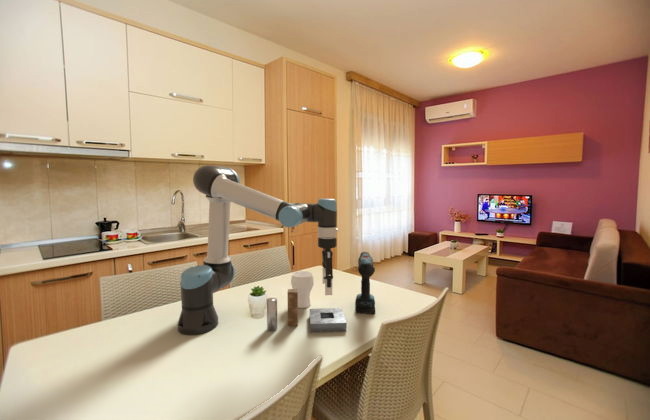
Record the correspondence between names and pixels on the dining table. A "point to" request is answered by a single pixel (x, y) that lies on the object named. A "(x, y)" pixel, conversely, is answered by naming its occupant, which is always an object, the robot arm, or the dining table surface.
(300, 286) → the cup
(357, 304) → the power drill
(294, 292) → the square bit
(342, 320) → the socket block
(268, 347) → the dining table surface
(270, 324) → the round bit
